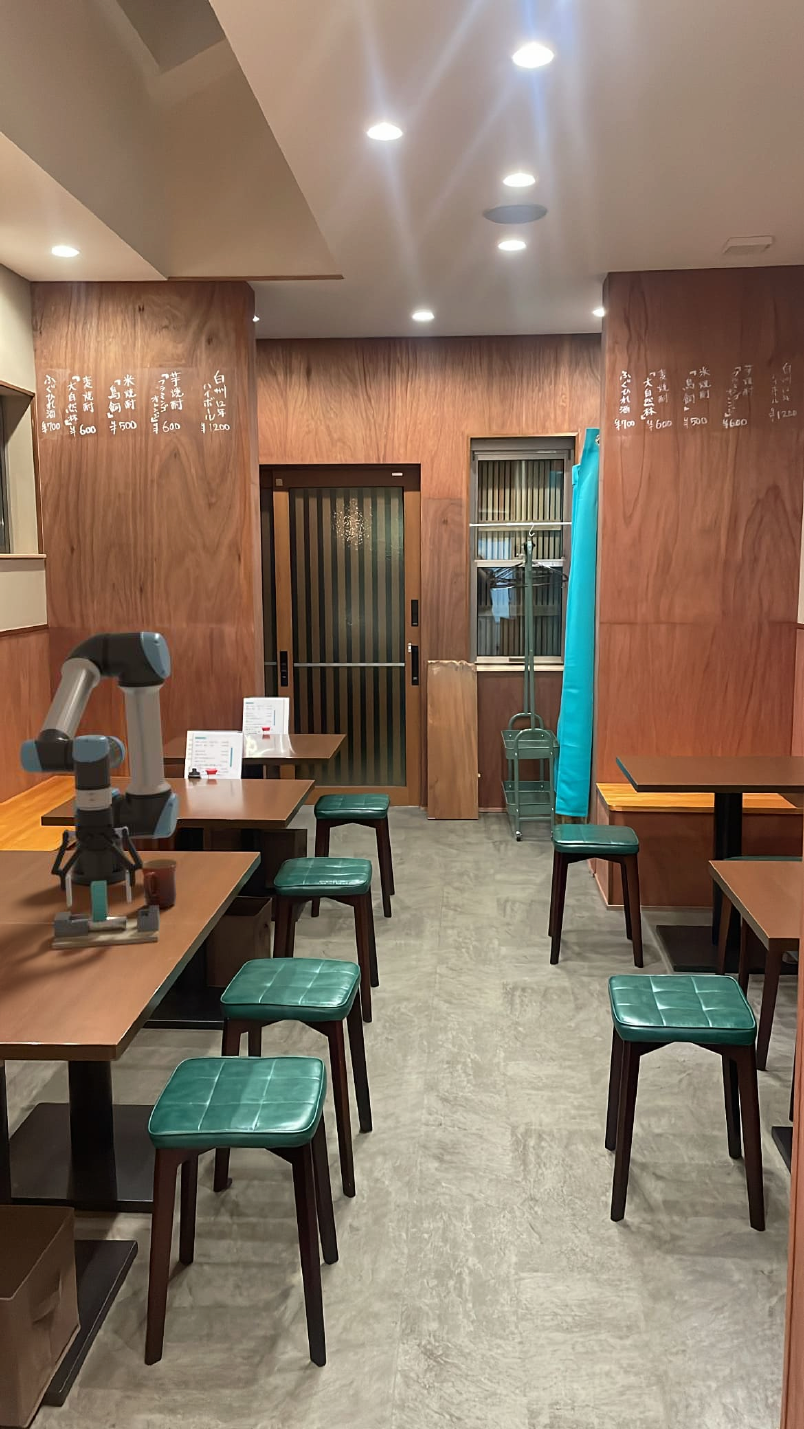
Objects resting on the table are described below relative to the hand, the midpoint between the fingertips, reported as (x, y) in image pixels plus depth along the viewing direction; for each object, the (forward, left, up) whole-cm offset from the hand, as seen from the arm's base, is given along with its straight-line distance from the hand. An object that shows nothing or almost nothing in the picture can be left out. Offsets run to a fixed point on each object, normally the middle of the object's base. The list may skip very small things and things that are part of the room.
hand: (99, 902), depth 236 cm
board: (0, +2, -7) cm, 8 cm away
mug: (-18, +12, -8) cm, 23 cm away
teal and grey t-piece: (0, -2, -6) cm, 7 cm away
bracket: (0, -6, -6) cm, 9 cm away
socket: (0, +10, -6) cm, 12 cm away
